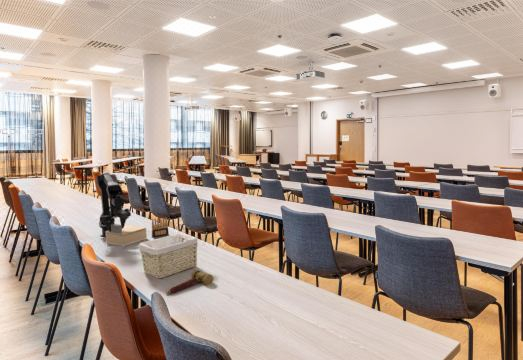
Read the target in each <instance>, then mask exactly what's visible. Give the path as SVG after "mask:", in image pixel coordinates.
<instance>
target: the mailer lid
mask: <svg viewBox="0 0 523 360" xmlns="http://www.w3.org/2000/svg"><path fill="white" fill-rule="evenodd" d="M144 229H146V230H147V228H146V226H145V227H144V226H138V225H137V226H135V225H130V224H128V225H124V228H122V225H121V224H119V223H118V224H117V223H114V224H113V225H111V232H109V231H106V232H105V233H110V234H116V235H122V236H124V235H127V234H130V233H134V232H137V231H141V230H144Z"/></svg>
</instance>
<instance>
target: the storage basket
mask: <svg viewBox="0 0 523 360" xmlns="http://www.w3.org/2000/svg"><path fill="white" fill-rule="evenodd" d="M198 243H199V242H198V238H197V237H195V236H192V235H191V236H190V235H188V234H184V233H179V232H178V233H176V234H171V235H170V234H169V235H167V236H162V237H158V238H156V239H155V238H154V239H151V240H147V241H143V242H139V245H138V247H139V248H138V249H139V251H140V256H141V260H142V266H143V272H144V273H145V274H147V275H150V276H152V277H154V278H156V279H163V278H164V279H165V278H166V277H169V276H172V275H175V274H178V273H180V272H184V271H186V270H189V269H191V268H195V267H197V265H198Z"/></svg>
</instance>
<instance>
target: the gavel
mask: <svg viewBox="0 0 523 360" xmlns="http://www.w3.org/2000/svg"><path fill="white" fill-rule="evenodd" d="M190 277H191V278H190V279H189V280H186V281H183V282H182V283H179V284H177V285H175V286H173V287H171V288H170V289H168V290H167V292H165V294H166V295H167V294H168V295H171V294H172V293H173V294H176V293H178V291H179V292H180V291H183V290H185V289H187V288H189V287H191V286H194V285H196V284H197V283H199V282H200V283H203V284H204V285H206V286H209V285H211V284H212V283H214V276H213V274H210V273H205V272H202V271H200V270H198V269H194V270H193V271H192V272H191V276H190ZM173 294H172V295H173Z"/></svg>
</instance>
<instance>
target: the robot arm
mask: <svg viewBox="0 0 523 360" xmlns="http://www.w3.org/2000/svg"><path fill="white" fill-rule="evenodd" d="M95 184H96V186H97V188H98V189H99V190H100V192H99V193H100V201H101V209H102V212H101V214H100V216H99V220H98V221H99V222H98V227H99V228H100V229H101V233H102V234H100V237H102V238H103V237H105V238H106V234H105V232H106V231H109V232H111V225H113V224H115V220H116V218H119V223H120V225H122V228H124V226H126V225H125V224H126V222H127V219H129V218H130V217H131V216H132V214H131V212H130V209H129V208H125V209H123V206H124V204H125V200H124V199H123V198H122V196H124V195H123V194H124V192H123V187H121V185H120V184H119V183H118V182H115V180H114V179H113V178H112V177H111V174H110V172H102V173H101V174H100V175H97V176H96V177H95Z"/></svg>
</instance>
